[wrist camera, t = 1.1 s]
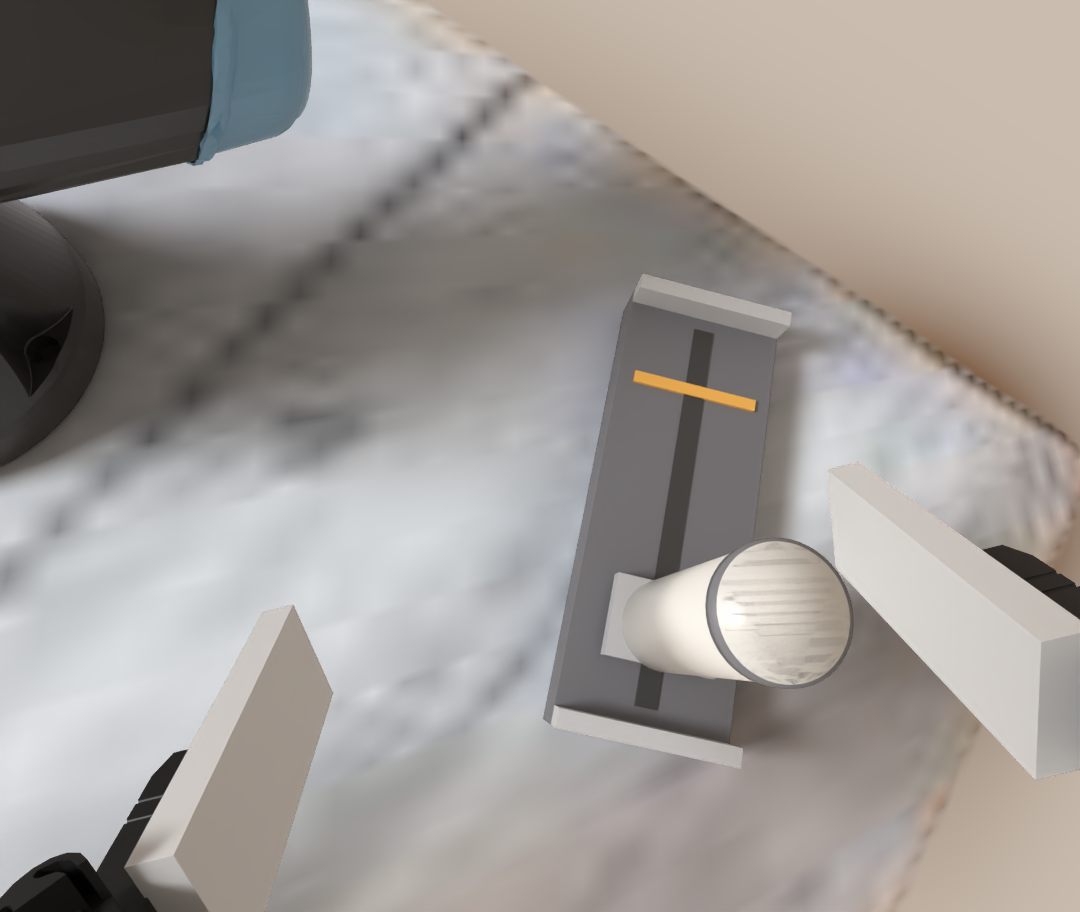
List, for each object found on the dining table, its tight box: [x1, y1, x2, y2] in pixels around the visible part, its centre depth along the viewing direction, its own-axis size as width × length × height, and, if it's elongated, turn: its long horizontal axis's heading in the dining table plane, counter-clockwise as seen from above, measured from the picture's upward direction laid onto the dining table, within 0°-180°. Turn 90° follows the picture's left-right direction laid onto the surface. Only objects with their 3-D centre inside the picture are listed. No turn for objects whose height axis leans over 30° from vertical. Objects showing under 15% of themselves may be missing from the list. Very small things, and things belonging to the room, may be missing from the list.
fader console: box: [543, 274, 792, 769], centre depth 33 cm, size 22×8×4 cm, turn 168°
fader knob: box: [601, 538, 853, 689], centre depth 25 cm, size 4×5×12 cm
